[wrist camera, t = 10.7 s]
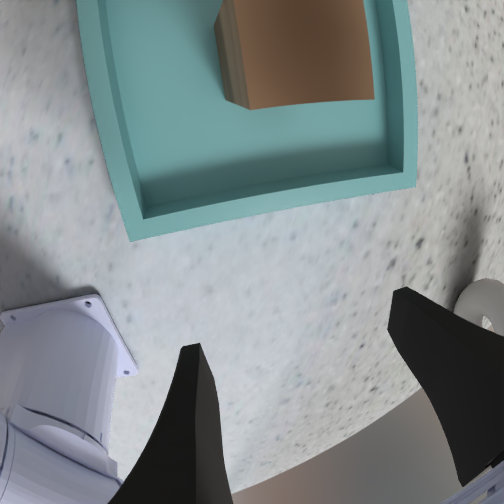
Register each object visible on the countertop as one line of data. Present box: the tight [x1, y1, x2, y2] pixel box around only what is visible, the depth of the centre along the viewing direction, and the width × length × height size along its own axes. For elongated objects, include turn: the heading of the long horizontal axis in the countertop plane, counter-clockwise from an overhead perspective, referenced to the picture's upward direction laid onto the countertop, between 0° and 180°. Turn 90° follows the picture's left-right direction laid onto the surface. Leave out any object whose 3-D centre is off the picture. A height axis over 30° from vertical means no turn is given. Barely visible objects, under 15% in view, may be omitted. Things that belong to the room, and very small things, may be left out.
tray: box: [76, 0, 418, 242], centre depth 13 cm, size 16×16×2 cm
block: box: [214, 0, 375, 110], centre depth 11 cm, size 4×4×7 cm
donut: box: [454, 278, 504, 336], centre depth 23 cm, size 10×4×10 cm, turn 8°
